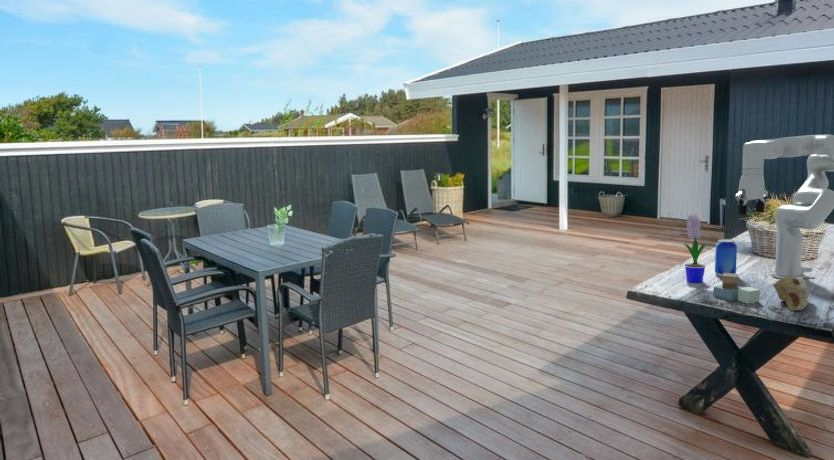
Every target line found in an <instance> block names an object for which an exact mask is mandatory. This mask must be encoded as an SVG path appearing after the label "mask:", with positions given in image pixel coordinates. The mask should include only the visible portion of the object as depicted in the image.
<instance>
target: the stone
mask: <svg viewBox="0 0 834 460" xmlns="http://www.w3.org/2000/svg"><path fill="white" fill-rule="evenodd" d="M772 286H773V288H774V289H775V290H776V293H777V295H778V299H779V300H781V301H783V302H784V303H786V306H787V308H788V309H789V310H790V311H793V312H794V311H802V310H804V309H805V308H806V307H807V306H808V304H809V301H808V299H809V297H810V296H809V295H810V288H809V285H808V283H807V282H806V280H805V278H800V277H784V278H781V279H780V278H779V280H777V281H776V282H775V283H773V285H772Z"/></svg>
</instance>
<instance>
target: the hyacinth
mask: <svg viewBox="0 0 834 460" xmlns="http://www.w3.org/2000/svg"><path fill="white" fill-rule="evenodd" d="M686 219H687V220H686V221H687V223H686V231H687V237H688V238H689V239H690V240H692V241H693V240H694V241H693V243H692V245H691V246H690V245H689V244H687V243H683V245H684V246H685V247H686V248H687V249H688V251H689V253H690V255H691V258H692V260H693V261H692V262H691V263H688V262H687V263H685V264H684V268H685V277H686V282H687V283H692V284H701V283H703V280H704V276H705V269H706V265H705V264H703V263H698V260H699V256H700V254H701V252H702V251H703V250H704V249H705V248H706V247H708V246H709V244H710V243H711V241H708V242H707V243H703V244H701V246H700V247H699V242H698V240H697V239H700V238H702V236H703V232H701V222H702V220H701V219H700V217H699V215H697V214H694V213H692V214H691V215H689V216H687V217H686Z"/></svg>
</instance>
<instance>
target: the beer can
mask: <svg viewBox="0 0 834 460" xmlns="http://www.w3.org/2000/svg"><path fill="white" fill-rule="evenodd" d="M735 241H736V240H735V239H732V238H731V239H730V238H720V239H717V242H716V244H715V252H714V253H715V256H714V273H715V274H716V275H717V276H719V277H723V273H733V274H737V260H738V259H737V256H738V255H737V254H738V246H737V243H736V242H735Z"/></svg>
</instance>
